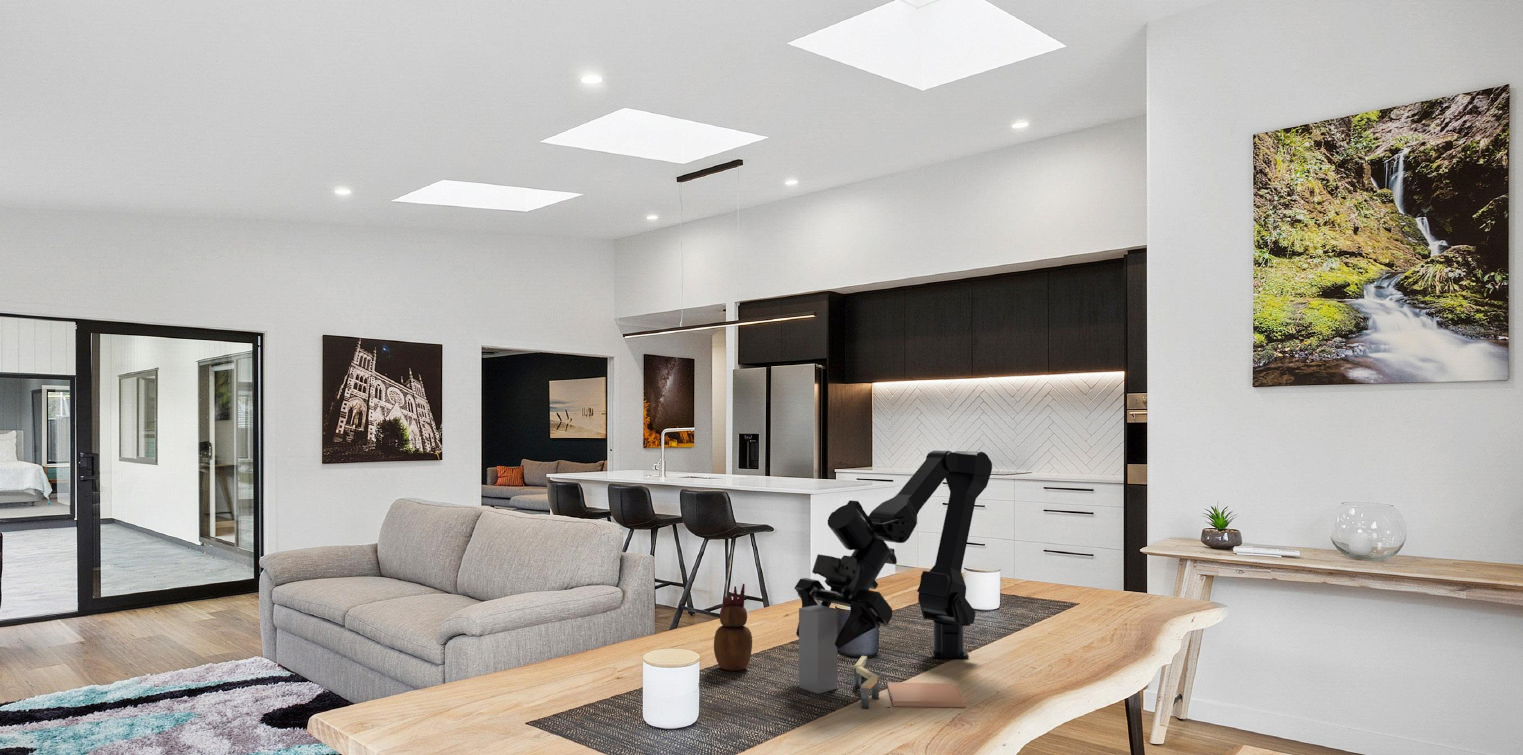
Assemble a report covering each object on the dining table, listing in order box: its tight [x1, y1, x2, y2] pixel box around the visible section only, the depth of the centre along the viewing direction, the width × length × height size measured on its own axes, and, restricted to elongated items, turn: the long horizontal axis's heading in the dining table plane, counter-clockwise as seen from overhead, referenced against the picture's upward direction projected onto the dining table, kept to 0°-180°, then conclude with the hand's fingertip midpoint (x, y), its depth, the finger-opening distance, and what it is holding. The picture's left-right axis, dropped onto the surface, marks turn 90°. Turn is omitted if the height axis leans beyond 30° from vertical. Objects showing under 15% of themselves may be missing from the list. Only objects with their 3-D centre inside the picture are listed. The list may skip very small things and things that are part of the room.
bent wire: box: [853, 655, 880, 710], centre depth 146 cm, size 18×4×3 cm, turn 177°
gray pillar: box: [798, 605, 839, 694], centre depth 149 cm, size 4×4×13 cm
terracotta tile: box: [887, 681, 966, 708], centre depth 143 cm, size 10×11×1 cm
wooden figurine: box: [713, 583, 753, 672], centre depth 160 cm, size 7×6×15 cm
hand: (816, 641), depth 148 cm, fingers open, 9 cm apart
